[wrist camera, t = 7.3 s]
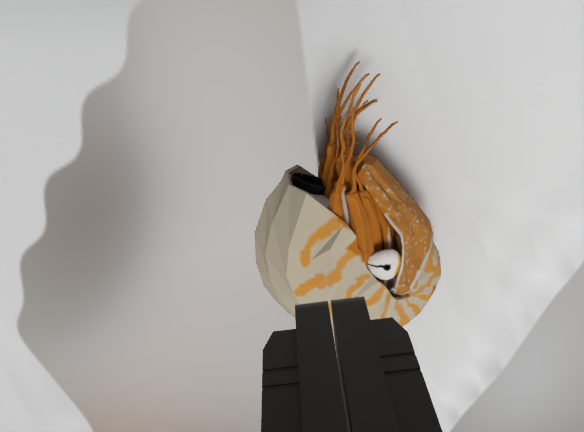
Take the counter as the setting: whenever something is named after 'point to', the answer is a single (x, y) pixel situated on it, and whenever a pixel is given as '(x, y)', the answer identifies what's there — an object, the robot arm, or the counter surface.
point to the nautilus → (347, 232)
